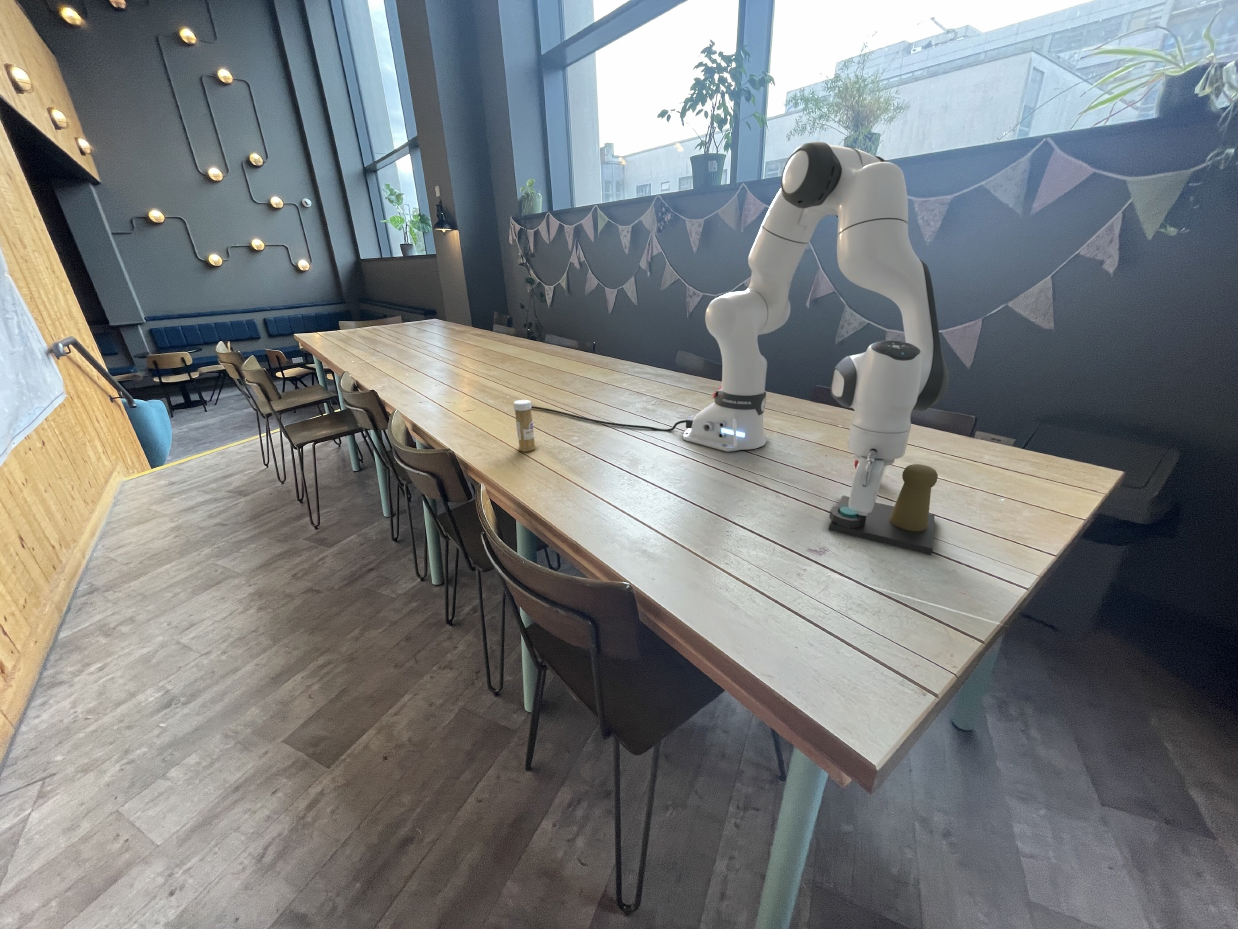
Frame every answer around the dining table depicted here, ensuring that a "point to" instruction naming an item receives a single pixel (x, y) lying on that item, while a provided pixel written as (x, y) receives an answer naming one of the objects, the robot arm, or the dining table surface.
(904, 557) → the dining table surface
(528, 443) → the sprinkles bottle
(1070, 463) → the dining table surface
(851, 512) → the button
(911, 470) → the cork
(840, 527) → the scale
